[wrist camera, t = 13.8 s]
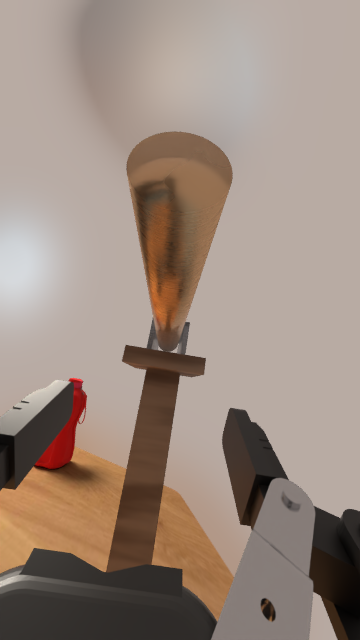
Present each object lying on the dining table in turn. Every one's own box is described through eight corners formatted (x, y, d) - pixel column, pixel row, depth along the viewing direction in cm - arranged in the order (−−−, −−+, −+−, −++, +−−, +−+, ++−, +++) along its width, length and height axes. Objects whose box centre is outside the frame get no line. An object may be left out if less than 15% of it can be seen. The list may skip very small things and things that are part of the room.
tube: (227, 220, 5) (236, 142, 6) (114, 199, 5) (139, 124, 6) (176, 353, 28) (179, 333, 29) (156, 349, 28) (159, 330, 29)
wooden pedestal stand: (157, 770, 16) (205, 358, 25) (28, 753, 16) (125, 344, 25) (160, 607, 27) (193, 365, 37) (86, 597, 27) (138, 356, 37)
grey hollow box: (185, 354, 25) (189, 322, 27) (146, 348, 25) (153, 316, 27) (178, 363, 37) (182, 340, 38) (152, 359, 37) (156, 336, 38)
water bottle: (60, 474, 57) (86, 381, 64) (26, 465, 59) (55, 375, 66) (79, 462, 66) (100, 381, 73) (48, 455, 67) (72, 377, 75)
